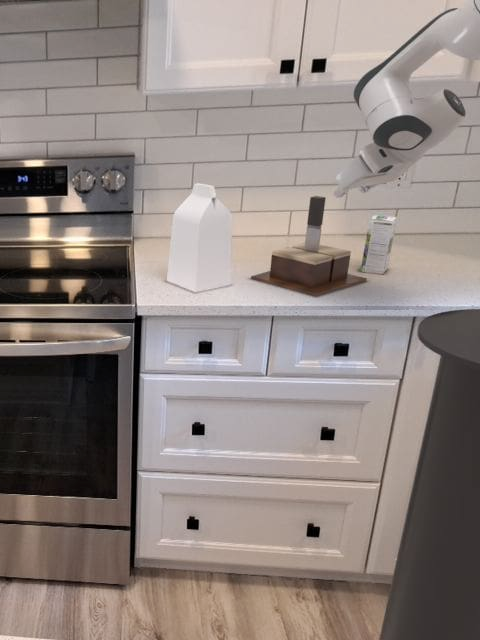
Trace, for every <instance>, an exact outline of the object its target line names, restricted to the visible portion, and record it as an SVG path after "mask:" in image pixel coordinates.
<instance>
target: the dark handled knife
mask: <svg viewBox="0 0 480 640" xmlns="http://www.w3.org/2000/svg"><path fill="white" fill-rule="evenodd" d="M325 206H326V196H321V195H319V196H318V195H313V196H310V199H309V206H308V215H307V221H306V222H307V223H306V225H307V226H306V232H305V239H304V243H305V247H304V250H305V251H310V252H314V253H318V252H319V245H321V244H320V243H321V236H322V226H323V221H324V214H325Z"/></svg>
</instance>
